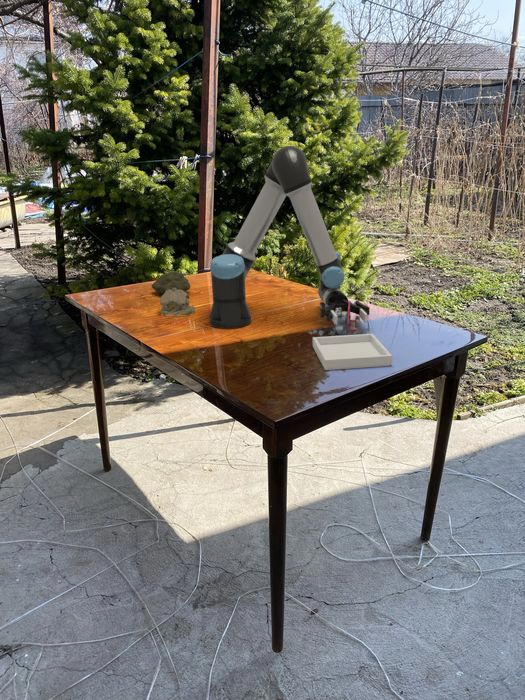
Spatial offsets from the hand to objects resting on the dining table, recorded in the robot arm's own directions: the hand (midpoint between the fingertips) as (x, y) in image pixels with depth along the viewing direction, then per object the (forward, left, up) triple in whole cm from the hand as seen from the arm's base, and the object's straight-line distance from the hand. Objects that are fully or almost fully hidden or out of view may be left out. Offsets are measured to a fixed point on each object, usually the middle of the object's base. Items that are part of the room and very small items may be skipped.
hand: (351, 319), depth 168 cm
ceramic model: (-58, +41, -7) cm, 71 cm away
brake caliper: (0, +5, -7) cm, 9 cm away
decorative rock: (-62, +71, -7) cm, 94 cm away
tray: (-4, -14, -7) cm, 16 cm away
